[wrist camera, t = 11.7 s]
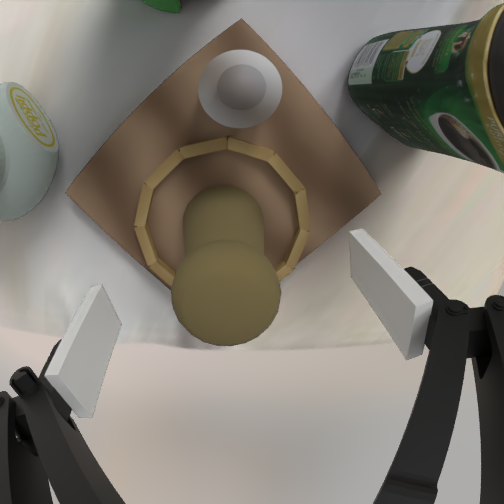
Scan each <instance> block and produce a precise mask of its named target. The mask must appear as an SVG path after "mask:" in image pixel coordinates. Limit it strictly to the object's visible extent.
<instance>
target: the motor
mask: <svg viewBox="0 0 504 504" xmlns="http://www.w3.org/2000/svg"><path fill="white" fill-rule="evenodd" d="M142 1H143V2H145V3H146V4H148V5H150V6H152V7H154V8H156V9H159V10H163V11H167V12H173V13H179V10H180V8H181V4H180V0H142Z"/></svg>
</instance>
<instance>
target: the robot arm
mask: <svg viewBox="0 0 504 504" xmlns="http://www.w3.org/2000/svg"><path fill="white" fill-rule="evenodd" d="M349 244H350V267H351V278H352V279H353V281H354V282H355V284H356V285H357V286H358V288H359V289H360V291H361V292H362V294H363V295H364V297H365V298H366V300H367V301H368V302H369V304H370V305H371V307H372V308H373V310H374V311H375V313H376V314H377V316H378V317H379V319H380V320H381V322H382V323H383V325H384V326H385V328H386V329H387V331H388V332H389V334H390V336H391V337H392V339H393V340H394V342H395V343H396V345H397V346H398V348H399V349H400V351H401V353H402V354H403V356H404V357H405V359H406V360H409V359H412V358H414V357H417V356H419V355H422V353H423V349H424V344H425V345H426V346H427V347H428V349H429V350H430V351H429V355H428V358H427V362H426V366H425V370H424V374H423V377H422V381H421V384H420V388H419V391H418V394H417V397H416V400H415V404H414V407H413V410H412V413H411V416H410V418H409V421H408V424H407V427H406V430H405V432H404V435H403V438H402V440H401V443H400V445H399V448H398V451H397V453H396V455H395V457H394V460H393V462H392V465H391V467H390V469H389V471H388V473H387V476H386V478H385V480H384V482H383V484H382V486H381V488H380V490H379V493H378V494H377V496H376V499H375V501H374V502H373V504H434V502H435V499H436V496H437V492H438V489H437V483H438V479H439V476H440V474H441V470H442V467H443V464H444V461H445V457H446V454H447V451H448V447H449V444H450V440H451V436H452V432H453V428H454V424H455V420H456V415H457V411H458V406H459V401H460V396H461V390H462V385H463V379H464V372H465V365H466V358H472V364H473V370H474V377H475V383H476V391H477V400H478V410H479V421H480V437H481V494H480V504H504V297H503V296H499V295H493V296H490V297H488V298H487V300H486V302H485V306H484V307H477V308H469V307H468V306H467V304H465V303H463V302H462V301H458V300H449V299H448V298H447V297H446V296H445V295H444V294H443V293H442V292H441V291H440V290H439V289H438V288H437V287H436V286H435V285H434V284H432V282H431V281H430V280H429V279H427V277H426V276H425V275H424V274H423V273H422V272H421V271H420V270H417V269H415V268H413V267H409V268H405V269H403V268H402V267H401V266H400V265H399V264H398V263H397V262H396V261H395V260H394V259H393V258H392V257H391V256H390V255H389V254H388V253H387V252H386V251H385V250H384V249H383V248H382V247H381V246H380V245H379V244H378V243H377V242H376V241H375V240H374V239H373V238H372V237H371V236H370V235H369V234H368V233H367V232H366V231H365V230H364V229H363V228H361V229H357V230H352V231H349ZM121 325H122V324H121V322H120V320H119V318H118V316H117V314H116V312H115V310H114V308H113V306H112V304H111V302H110V300H109V297H108V295H107V293H106V291H105V289H104V287H103V284H102V285H97V286H92V287H91V288H90V289H89V291H88V293H87V294H86V296H85V298H84V300H83V301H82V303H81V305H80V307H79V308H78V310H77V312H76V314H75V316H74V318H73V319H72V321H71V323H70V325H69V327H68V329H67V331H66V333H65V334H64V336H63V338H62V339H61V340H60V341H59V342H58V343H57V344H56V345H55V346H54V347H53V349H52V351H51V353H50V356H49V357H48V360H47V362H46V363H45V365H44V367H43V369H42V372H41V374H40V376H39V378H38V377H37V376H36V375H35V373H34V372H33V371H32V369H31V368H30V367H27V366H26V367H22V368H20V369H18V370H17V371H16V372H14V374H13V375H12V377H11V379H10V385H11V387H12V388H13V389H14V390H15V392H16V393H17V394H18V395H19V396H17V397H14V398H11V396H10V395H9V394H8V393H7V392H6V391H2V392H0V504H53V501H52V497H51V492H50V487H49V481H50V484H51V486H52V488H53V490H54V492H55V495H56V497H57V499H58V501H59V503H60V504H125V502H124V501H123V500H122V498H121V497H120V495H119V494H118V493H117V491H116V490H115V488H114V487H113V485H112V484H111V483H110V481H109V479H108V478H107V476H106V475H105V473H104V472H103V470H102V469H101V467H100V466H99V464H98V462H97V461H96V459H95V457H94V456H93V454H92V452H91V451H90V449H89V447H88V446H87V444H86V442H85V440H84V438H83V437H82V435H81V433H80V431H79V429H78V428H77V426H76V424H75V422H74V420H73V419H72V418H71V417H70V413H71V411H72V410H73V411H74V412H75V414H76V415H77V416H78V417H80V418H92V417H93V414H94V410H95V407H96V403H97V400H98V396H99V393H100V389H101V386H102V383H103V379H104V376H105V373H106V370H107V367H108V364H109V360H110V357H111V354H112V351H113V348H114V345H115V342H116V339H117V337H118V334H119V331H120V328H121ZM16 436H17V438H16ZM48 479H49V481H48Z"/></svg>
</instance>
